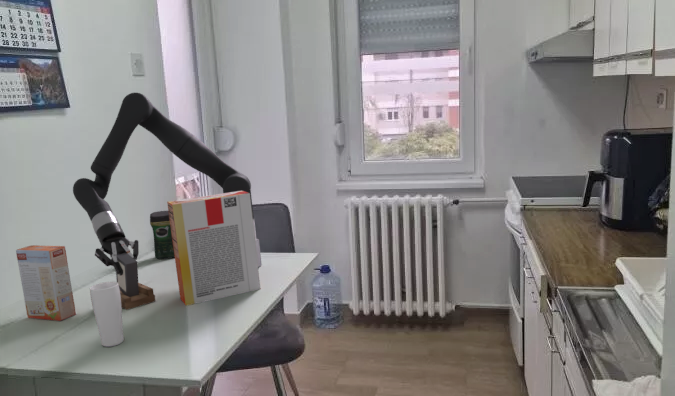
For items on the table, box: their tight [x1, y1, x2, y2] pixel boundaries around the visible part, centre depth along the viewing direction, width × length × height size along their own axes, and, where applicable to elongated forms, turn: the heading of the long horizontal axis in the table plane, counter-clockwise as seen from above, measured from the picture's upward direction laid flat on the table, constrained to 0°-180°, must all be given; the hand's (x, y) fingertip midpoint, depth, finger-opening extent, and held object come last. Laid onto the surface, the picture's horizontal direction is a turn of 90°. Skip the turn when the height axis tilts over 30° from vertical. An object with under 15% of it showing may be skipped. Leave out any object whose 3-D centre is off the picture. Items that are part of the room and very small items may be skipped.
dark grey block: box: [115, 253, 139, 297], centre depth 178 cm, size 8×4×11 cm, turn 42°
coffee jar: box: [149, 210, 175, 260], centre depth 230 cm, size 10×8×19 cm
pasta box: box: [166, 191, 261, 306], centre depth 176 cm, size 23×8×30 cm, turn 116°
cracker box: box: [15, 244, 77, 322], centre depth 169 cm, size 14×6×21 cm, turn 65°
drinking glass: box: [89, 281, 125, 348], centre depth 144 cm, size 7×7×15 cm
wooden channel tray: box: [120, 282, 156, 311], centre depth 179 cm, size 16×9×4 cm, turn 42°
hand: (128, 271), depth 176 cm, fingers closed on dark grey block, 3 cm apart
